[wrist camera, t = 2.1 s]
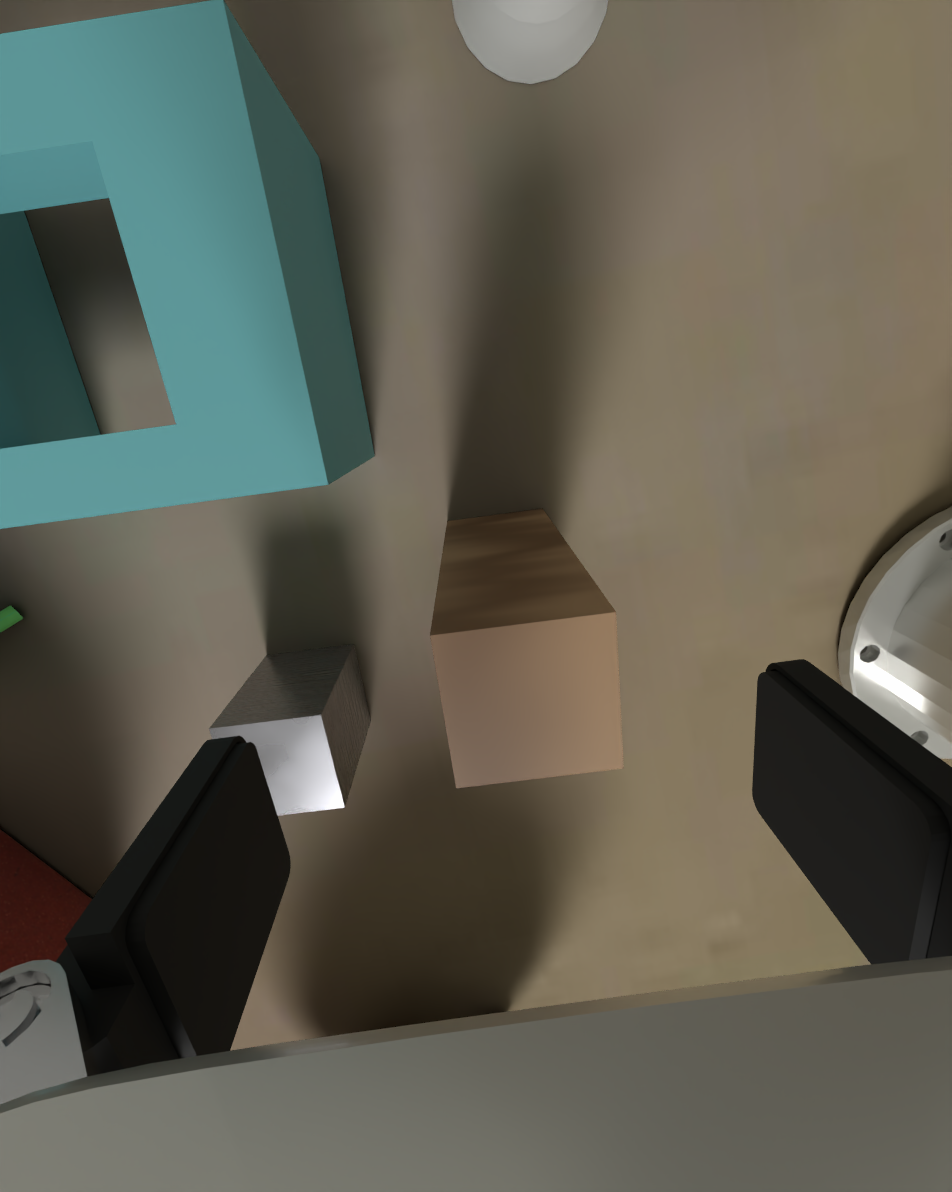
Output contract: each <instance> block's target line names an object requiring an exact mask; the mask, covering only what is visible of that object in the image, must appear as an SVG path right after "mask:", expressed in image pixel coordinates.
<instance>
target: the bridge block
mask: <svg viewBox="0 0 952 1192" xmlns="http://www.w3.org/2000/svg"><path fill="white" fill-rule="evenodd" d="M105 198H109V200H110V203H111V206H112V210H113V213H114V216H115V220H116V223H117V227H118V230H119V233H120V237H121V240H122V243H123V247H124V250H125V254H126V257H127V260H128V264H129V267H130V270H131V274H132V277H133V280H134V284H135V287H136V291H137V294H138V297H139V301H140V304H141V307H142V311H143V314H144V318H145V321H146V324H147V328H148V331H149V334H150V338H151V341H152V345H153V348H154V351H155V355H156V358H157V361H158V365H159V368H160V372H161V375H162V378H163V382H164V385H165V388H166V392H167V395H168V398H169V402H170V405H171V409H172V412H173V415H174V419H175V422H176V425H168V426H161V427H154V428H147V429H140V430H132V431H125V432H118V433H111V434H104V435H100V432H99V429H98V426H97V423H96V420H95V417H94V414H93V411H92V408H91V405H90V403H89V400H88V397H87V394H86V391H85V388H84V385H83V382H82V379H81V376H80V373H79V370H78V367H77V365H76V362H75V359H74V356H73V353H72V350H71V347H70V344H69V341H68V338H67V335H66V332H65V329H64V327H63V324H62V321H61V318H60V315H59V312H58V309H57V306H56V303H55V300H54V297H53V294H52V291H51V289H50V286H49V283H48V280H47V277H46V274H45V271H44V268H43V265H42V262H41V259H40V256H39V253H38V251H37V248H36V245H35V242H34V239H33V236H32V233H31V230H30V227H29V224H28V221H27V218H26V215H25V213H24V211H25V210H31V209H38V208H45V207H51V206H58V205H65V204H71V203H78V202H85V201H91V200H98V199H105ZM374 456H375V455H374V450H373V444H372V439H371V433H370V428H369V423H368V417H367V412H366V407H365V401H364V396H363V390H362V385H361V380H360V374H359V369H358V363H357V358H356V353H355V347H354V342H353V337H352V331H351V326H350V320H349V315H348V310H347V304H346V299H345V294H344V288H343V283H342V277H341V272H340V267H339V261H338V256H337V251H336V245H335V240H334V234H333V229H332V224H331V218H330V213H329V207H328V202H327V197H326V191H325V186H324V181H323V175H322V170H321V164H320V159H319V157H318V155H317V154H316V152H315V150H314V149H313V147H312V145H311V144H310V142H309V140H308V139H307V137H306V135H305V134H304V132H303V130H302V129H301V127H300V125H299V124H298V122H297V120H296V119H295V117H294V115H293V114H292V112H291V110H290V109H289V107H288V106H287V104H286V102H285V101H284V99H283V97H282V96H281V94H280V92H279V91H278V89H277V87H276V86H275V84H274V82H273V81H272V79H271V77H270V76H269V74H268V72H267V71H266V69H265V67H264V66H263V64H262V63H261V61H260V59H259V58H258V56H257V54H256V53H255V51H254V49H253V48H252V46H251V44H250V43H249V41H248V39H247V38H246V36H245V34H244V33H243V31H242V29H241V28H240V26H239V24H238V23H237V21H236V19H235V18H234V16H233V15H232V13H231V11H230V10H229V8H228V6H227V5H226V3H225V1H224V0H210V1H204V2H198V3H191V4H185V5H179V6H172V7H166V8H160V9H154V10H147V11H141V12H135V13H128V14H122V15H116V16H110V17H103V18H97V19H91V20H85V21H78V22H72V23H66V24H59V25H53V26H47V27H41V28H34V29H28V30H22V31H15V32H9V33H3V34H0V529H3V528H10V527H18V526H25V525H33V524H40V523H48V522H55V521H62V520H70V519H77V518H85V517H92V516H99V515H107V514H114V513H122V512H129V511H137V510H144V509H151V508H159V507H166V506H174V505H181V504H189V503H196V502H203V501H211V500H218V499H226V498H233V497H240V496H248V495H255V494H263V493H270V492H278V491H285V490H292V489H300V488H307V487H315V486H322V485H328V484H330V483H332V482H333V481H335V480H337V479H338V478H340V477H342V476H343V475H345V474H346V473H348V472H350V471H351V470H353V469H355V468H356V467H358V466H360V465H361V464H363V463H364V462H366V461H368V460H369V459H371V458H373V457H374Z"/></svg>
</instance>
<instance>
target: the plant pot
mask: <svg viewBox="0 0 952 1192" xmlns="http://www.w3.org/2000/svg"><path fill="white" fill-rule="evenodd" d="M91 901H92V899H91V898H90V897H88V896H87V895H86V894H84V893H83V892H82V891H81V890H79V889H78V888H77V887H75V886H74V885H73V884H72V883H70V882H69V881H68V880H66V879H65V878H64V877H62V876H61V875H60V874H58V873H57V872H56V871H54V870H53V869H52V868H50V867H49V866H48V865H47V864H45V863H44V862H43V861H41V860H40V859H39V858H37V857H36V856H35V855H33V854H32V853H31V852H29V851H28V850H27V849H25V848H24V847H23V846H22V845H20V844H19V843H18V842H16V841H15V840H14V839H12V838H11V837H10V836H8V835H7V834H6V833H4V832H3V831H2V830H0V973H1V972H3V971H5V970H7V969H9V968H11V967H14V966H17V965H20V964H23V963H26V962H30V961H33V960H51V961H54V962H56V960H57V959H58V957H59V956H60V955H61V953H62V952H63V950H64V949H65V947H66V946H67V945H68V944H67V942H66V940H65V939H64V938H65V937H66V936H67V934H68V933H69V931H70V930H71V929H72V927H73V926H74V924H75V923H76V922H77V920H78V919H79V917H80V916H81V915H82V913H83V912H84V910H85V909H86V908H87V906H88V905H89V903H90V902H91Z"/></svg>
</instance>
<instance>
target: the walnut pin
mask: <svg viewBox="0 0 952 1192" xmlns="http://www.w3.org/2000/svg"><path fill="white" fill-rule="evenodd" d="M430 639H431V644H432V650H433V656H434V662H435V668H436V674H437V679H438V685H439V691H440V697H441V703H442V708H443V714H444V720H445V726H446V732H447V738H448V743H449V749H450V755H451V761H452V767H453V773H454V778H455V784H456V788H464V787H472V786H480V785H489V784H497V783H506V782H514V781H522V780H531V779H539V778H548V777H556V776H564V775H573V774H581V773H589V772H598V771H606V770H615V769H623V768H624V766H623V745H622V725H621V705H620V684H619V664H618V644H617V623H616V611H615V610H614V609H613V607H612V606H611V604H610V603H609V602H608V600H607V599H606V597H605V596H604V595H603V593H602V592H601V590H600V589H599V587H598V586H597V585H596V583H595V582H594V580H593V579H592V578H591V576H590V575H589V573H588V572H587V571H586V569H585V568H584V566H583V565H582V564H581V562H580V561H579V559H578V558H577V556H576V555H575V554H574V552H573V551H572V549H571V548H570V547H569V545H568V544H567V542H566V541H565V540H564V538H563V537H562V535H561V534H560V533H559V531H558V530H557V528H556V527H555V525H554V524H553V523H552V521H551V520H550V518H549V517H548V516H547V514H546V513H545V511H544V510H543V509H535V510H528V511H520V512H513V513H505V514H497V515H490V516H482V517H475V518H467V519H460V520H452V521H447V527H446V533H445V540H444V547H443V553H442V560H441V566H440V573H439V580H438V586H437V593H436V599H435V606H434V613H433V619H432V626H431V632H430Z"/></svg>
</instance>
